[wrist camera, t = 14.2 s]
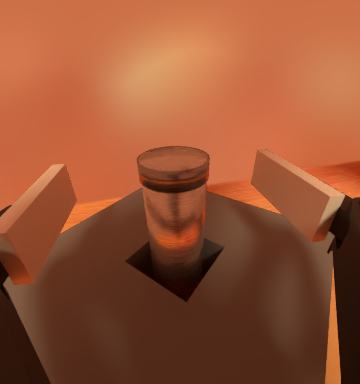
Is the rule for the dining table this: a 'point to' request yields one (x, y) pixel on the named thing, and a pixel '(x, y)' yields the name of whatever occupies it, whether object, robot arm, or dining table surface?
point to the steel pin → (175, 214)
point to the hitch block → (181, 302)
